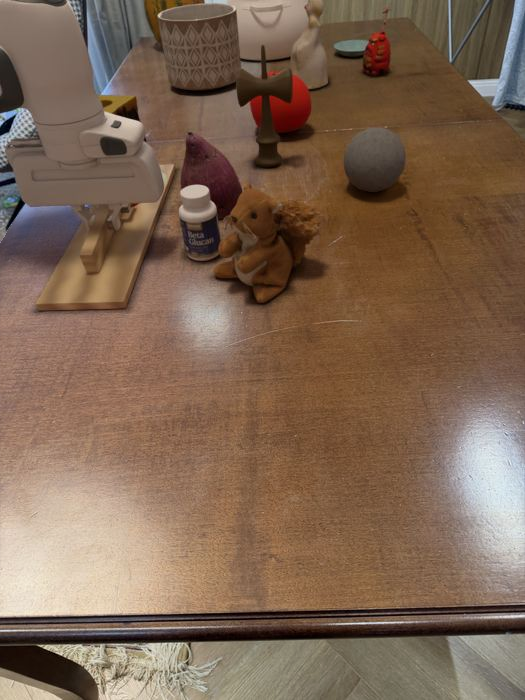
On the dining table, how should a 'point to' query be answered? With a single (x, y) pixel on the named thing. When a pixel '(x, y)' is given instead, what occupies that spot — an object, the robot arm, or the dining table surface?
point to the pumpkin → (157, 3)
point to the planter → (200, 45)
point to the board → (105, 261)
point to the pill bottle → (199, 223)
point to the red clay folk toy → (377, 52)
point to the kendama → (265, 106)
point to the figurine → (311, 51)
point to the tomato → (286, 107)
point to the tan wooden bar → (99, 238)
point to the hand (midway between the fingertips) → (104, 228)
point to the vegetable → (210, 173)
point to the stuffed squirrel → (266, 241)
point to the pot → (269, 27)
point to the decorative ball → (374, 159)
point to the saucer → (351, 47)
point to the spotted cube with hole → (121, 106)
